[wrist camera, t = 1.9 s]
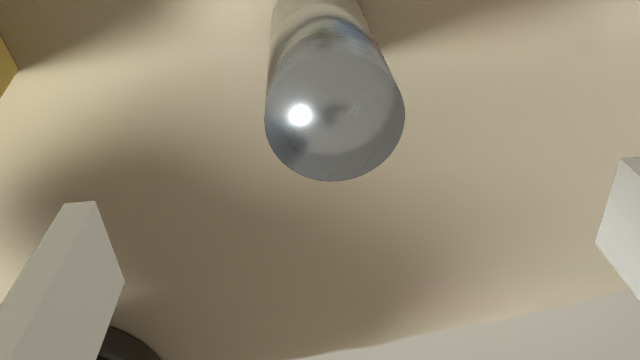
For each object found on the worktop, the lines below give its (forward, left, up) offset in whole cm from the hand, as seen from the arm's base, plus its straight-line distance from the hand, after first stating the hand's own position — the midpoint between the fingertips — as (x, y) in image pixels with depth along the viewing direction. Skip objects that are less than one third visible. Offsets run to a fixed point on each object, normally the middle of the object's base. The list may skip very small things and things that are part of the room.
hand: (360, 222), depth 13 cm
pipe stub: (0, 0, -18) cm, 18 cm away
